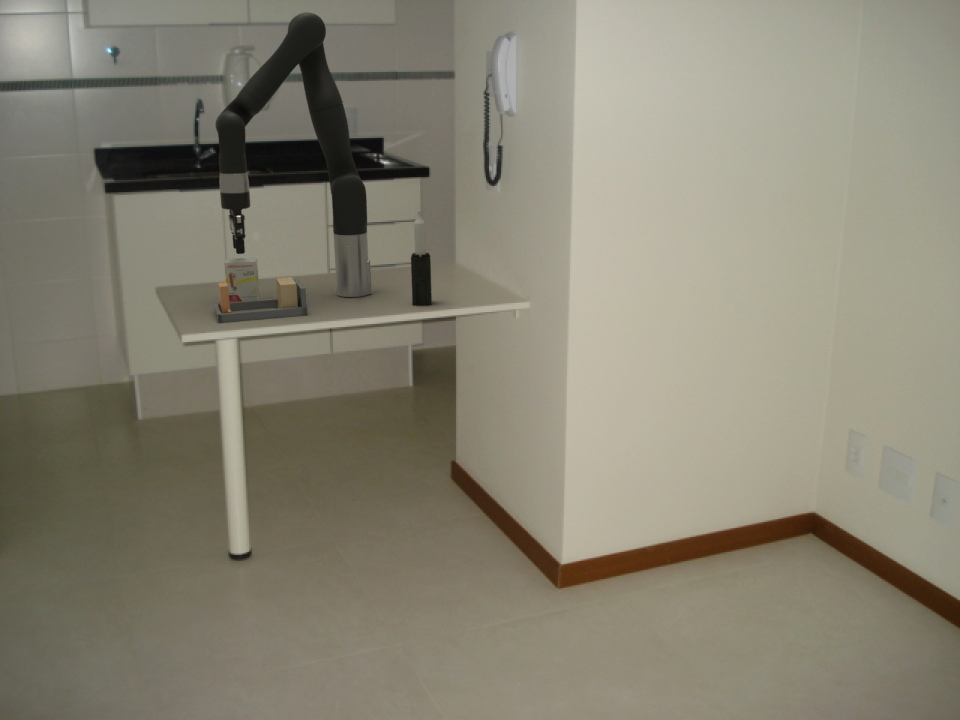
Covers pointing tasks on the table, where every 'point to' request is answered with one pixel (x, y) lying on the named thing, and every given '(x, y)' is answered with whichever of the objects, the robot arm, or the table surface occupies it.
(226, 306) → the pusher
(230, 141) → the robot arm
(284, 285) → the kraft carton
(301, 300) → the grey shallow tray
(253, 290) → the ink box
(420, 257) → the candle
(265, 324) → the table surface
